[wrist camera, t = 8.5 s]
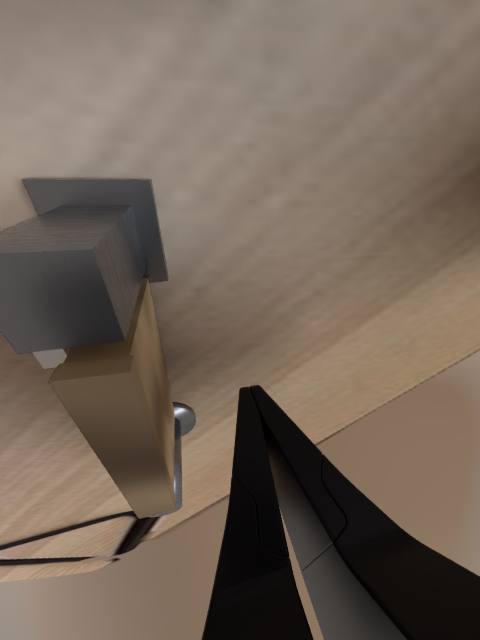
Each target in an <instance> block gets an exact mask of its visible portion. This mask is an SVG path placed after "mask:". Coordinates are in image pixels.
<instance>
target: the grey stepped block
mask: <svg viewBox="0 0 480 640" xmlns="http://www.w3.org/2000/svg"><path fill="white" fill-rule="evenodd" d="M22 180H23V182H24V185H25V187H26V189H27V191H28V193H29V195H30V198H31V200H32V202H33V204H34V206H35V209H36V211H37V213H38V216H35V217H33V218H31V219H29V220H26V221H24V222H22V223H19V224H17V225H15V226H12V227H10V228H8V229H5V230H3V231H1V232H0V331H1V332H2V334H3V335H4V336H5V338H6V339H7V340H8V342H9V343H10V344H11V346H12V347H13V348H14V350H15V351H16V352H17V354H22V353H30V352H32V353H33V355H34V356H35V357H36V359H37V360H38V362H39V363H40V365H41V366H42V367H43V369H48V368H55V367H57V366H58V364H61V363H63V362H64V361H65V359H66V357H67V355H68V353H69V352H70V350H71V348H72V347H80V346H89V345H97V344H105V343H114V342H122V341H126V337H127V334H128V330H129V326H130V323H131V319H132V315H133V312H134V308H135V305H136V301H137V297H138V294H139V290H140V287H141V283H142V279H143V278H148V280H149V282H162V281H168V272H167V267H166V261H165V255H164V249H163V244H162V238H161V232H160V227H159V221H158V215H157V209H156V204H155V198H154V192H153V187H152V181H151V179H58V178H27V179H22Z"/></svg>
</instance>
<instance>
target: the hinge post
mask: <svg viewBox="0 0 480 640" xmlns="http://www.w3.org/2000/svg"><path fill="white" fill-rule="evenodd" d="M172 403H173V402H172ZM173 408H174V413H175V419H174V491H175V495H176V509H175V510H171V511H167V512H163V513H159V514H155V515H151V516H148V517H159V516H164V515H168V514H171V513H173V512H175V511H177V510H179V509H180V508H181V507H182V459H181V436H184V435H185V434H187V433H188V432H190V431H191V430H192V429H193V427H194V425H195V422H196V420H195V413H194V411H193V410H192V409H191V408H190V407H188V406H186V405H184V404H180V403H173Z"/></svg>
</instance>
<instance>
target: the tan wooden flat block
mask: <svg viewBox="0 0 480 640" xmlns="http://www.w3.org/2000/svg"><path fill="white" fill-rule="evenodd" d="M48 383H49V384H50V386H51V387H52V389H53V390H54V392H55V393H56V395H57V396H58V398H59V399H60V401H61V402H62V404H63V405H64V407H65V408H66V410H67V411H68V413H69V414H70V416H71V417H72V419H73V420H74V422H75V423H76V425H77V426H78V428H79V429H80V431H81V432H82V434H83V435H84V437H85V438H86V440H87V441H88V443H89V444H90V446H91V447H92V449H93V450H94V452H95V453H96V455H97V456H98V458H99V459H100V461H101V462H102V464H103V465H104V467H105V468H106V470H107V471H108V473H109V475H110V476H111V478H112V479H113V481H114V482H115V484H116V485H117V487H118V488H119V490H120V491H121V493H122V494H123V496H124V497H125V499H126V500H127V502H128V503H129V505H130V506H131V508H132V509H133V511H134V512H135V514H136V515H137V517H138V518H139V519H140V518H144V517H148V516H151V515H155V514H159V513H163V512H167V511H171V510H175V509H176V495H175V491H174V419H175V413H174V408H173V403H172V398H171V393H170V387H169V382H168V377H167V372H166V367H165V362H164V357H163V352H162V347H161V342H160V336H159V331H158V326H157V321H156V316H155V311H154V306H153V301H152V296H151V291H150V285H149V280H148V278H143V279H142V283H141V287H140V290H139V294H138V297H137V301H136V305H135V308H134V312H133V315H132V319H131V323H130V326H129V330H128V334H127V337H126V341H122V342H114V343H105V344H97V345H89V346H80V347H72V348H71V350H70V352H69V353H68V355H67V357H66V359H65V361H64V362H63V363H61V364H58V366H57V368H56V369H55V371H54V373H53V375H52V376H51V378H50V380H49V382H48Z"/></svg>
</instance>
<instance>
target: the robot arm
mask: <svg viewBox="0 0 480 640" xmlns="http://www.w3.org/2000/svg"><path fill="white" fill-rule="evenodd" d="M279 507H280V509H279ZM280 510H281V513H282V516H283V519H284V522H285V525H286V528H287V531H288V534H289V537H290V540H291V543H292V545H293V548H294V552H295V554H296V557H297V560H298V563H299V566H300V569H301V571H302V576H303V578H304V581H305V584H306V587H307V590H308V593H309V596H310V599H311V602H312V605H313V608H314V611H315V614H316V617H317V620H318V623H319V626H320V629H321V631H322V635H323V638H324V640H480V576H478V575H476V574H474V573H473V572H471V571H469V570H468V569H466V568H464V567H462V566H461V565H459V564H457V563H455V562H454V561H452V560H450V559H448V558H447V557H445V556H443V555H442V554H440V553H438V552H436V551H435V550H432V549H431V548H429V547H428V546H426V545H424V544H423V543H421V542H419V541H418V540H416V539H415V538H413V537H412V536H411V535H409V534H408V533H407V532H405V531H404V530H403V529H402V528H400V527H399V526H398V525H397V524H396V523H395V522H394V521H393V520H391V519H390V518H389V517H388V516H387V515H386V514H385V513H383V511H382V510H380V509H379V508H378V507H377V506H376V505H375V504H374V503H373V502H371V500H369V499H368V498H367V497H366V496H365V495H364V494H363V493H362V492H361V491H359V490H358V489H357V488H356V487H355V486H354V485H353V484H352V483H351V482H350V481H349V480H348V479H347V478H346V477H345V476H344V475H343V474H342V473H341V472H340V471H339V470H338V469H337V468H336V467H335V466H334V465H333V464H332V463H331V462H330V461H329V460H328V459H327V458H326V457H325V455H322V452H321V451H320V450H319V449H318V448H317V447H316V446H315V445H314V444H313V443H312V441H311V440H310V439H309V438H308V437H307V436H306V435H305V434H304V433H303V432H302V431H301V430H300V428H299V427H298V426H297V425H296V424H295V423H294V422H293V421H292V420H291V419H290V418H289V417H288V416H287V414H286V413H285V412H284V411H283V410H282V409H281V408H280V407H279V406H278V405H277V404H276V403H275V401H274V400H273V399H272V398H271V397H270V396H269V395H268V394H267V393H266V392H265V391H264V390H263V389H262V387H261V386H259V385H254V386H250V387H242V388H240V390H239V401H238V412H237V423H236V435H235V446H234V457H233V468H232V478H231V489H230V498H229V506H228V513H227V519H226V525H225V530H224V535H223V540H222V545H221V551H220V555H219V560H218V566H217V570H216V575H215V580H214V585H213V590H212V595H211V600H210V604H209V609H208V614H207V618H206V623H205V627H204V631H203V635H202V640H313V637H312V634H311V630H310V627H309V624H308V621H307V618H306V615H305V612H304V609H303V606H302V603H301V599H300V596H299V593H298V590H297V587H296V582H295V579H294V575H293V570H292V566H291V561H290V558H289V552H288V547H287V542H286V537H285V533H284V528H283V523H282V518H281V514H280Z"/></svg>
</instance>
